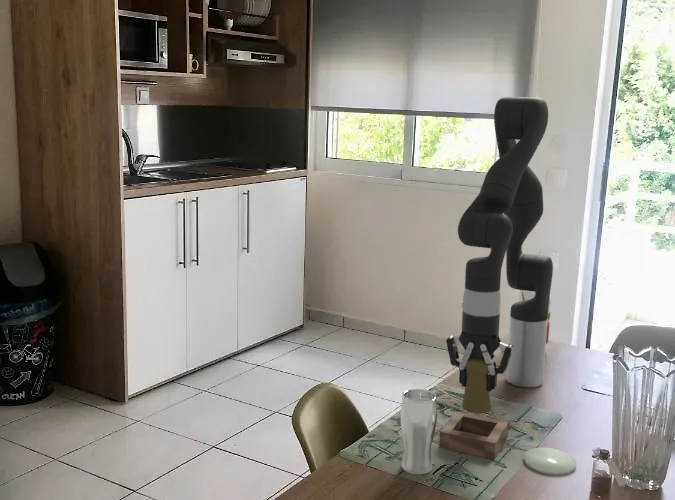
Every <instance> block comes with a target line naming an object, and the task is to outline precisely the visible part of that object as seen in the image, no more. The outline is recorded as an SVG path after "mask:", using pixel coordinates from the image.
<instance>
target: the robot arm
mask: <svg viewBox="0 0 675 500" xmlns="http://www.w3.org/2000/svg"><path fill="white" fill-rule="evenodd" d="M548 107H549V106H548V104H547V101H545V99H543V98H541V97H535V96H533V97H532V96H531V97H530V96H529V97H528V96H527V97H526V96H525V97H524V96H523V97H522V96H518V97H517V96H508V97H507V96H505V97H501V98H499V99H498V100H497V102H496V104H495V106H494V114H493V124H494V132H495V139H496V144H497V150H498V151H497V152H498V157H499V158H498V159H497V160H496V161H494V163H493V164H492V165H491V166H490V168H489V169H488V171H486V174H485V177H484V180H483V183H482V184H481V188H480V191H479V193H478V195H477V196H476V198H474V200H473V201H472V202H471V203H470V205H469V206H468V207H467V209H466V210H465V211H464V213H463V214H462V215H461V217H460V220H459V221H458V226H457V236H458V239H459V241H460V242H461V243H462V244H463V245H464V246H469V247H474V248H483V249H484V248H485V249H490V252H489V254H488V256H487V255H486V256H483V257H480V256H479V257H474V258H470V259H468V260H467V262H466V264H465V277H464V291H463V297H462V303H461V309H462V313H461V315H462V316H461V333H460V335H454V334H451V335H450V336H449V337H447V339H446V346H447V350H448V351H447V352H448V357H449V360H450V362H449V363H450V365H451V366H453V367H456V368H458V369H459V375H458V376H459V381H458V382H459V384H461V387H462V388H465V387H466V382H467V377H468V371H467V369H466V364H467V361H468V360H469V358H470V357H479V358H481V359H484V360H485V363H486V365H487V366H488V370H489V374H488V391H490V393H491V392H492V391H493V390H495V389H496V387H497V386H498V385H497V383H498V375H499V374H500V375H502V374H504V373H505V371H506V379H505V380H506V382H508V384H511V385H514V386H517V387H523V388H536V387H537V388H538V387H540V386H542V385H543V384H544V374H545V373H544V372H545V361H546V353H545V349H546V336H547V321H548V309H549V299H550V289H551V290H552V280H553V275H554V274H553V272H554V263H553V261H552V258H551V257H550V256H546V255H539V254H531V253H523V249H522V248H523V244H524V243H525V240H526V239H527V237H528V236H529V235H530V233H532V231H533V230H534V228H535V227H536V226H537V224H538V223H539V222H540V220H541V218H542V216H543V213H544V194H543V186H542V183H541V181H540V179H539V178H538V176H537V175H536V173H535V172H534V170H533V169H532V168H531V167H530V166H529V164H530V162H531V160H532V158H533V157H534V154H535V153H536V151H537V150H538V147H539V145H540V144H541V141H542V139H543V138H544V135H545V133H546V130H547V127H548V122H549V108H548ZM516 140H519V141H516ZM505 256H506V259H505ZM504 260H505V261H506V264H505V266H506V267H505V269H506V270H505V271H506V273H505V275H506V281H507V285H508V286H509V287H510V288H511V289H514V290H519V291H520V290H524V291H532V292H535V297H534V298H532V299H529V300H526V301H520V302H519V301H517V302H514V303H513V304H512V305H511V307H510V313H509V330H508V331H509V332H508V334H509V335H508V344H507V343H504V342H502V341H501V338H500V319H501V318H500V317H501V303H502V302H501V278H502V269H503V263H504ZM459 343H460V344H461V346H462V347H463V350H464V352H463V353H464V354H463V356H462V357H461V358H460V354H459V350H458V346H459V345H460V344H459ZM498 348H499V350H500V354H501V355H502V358H501V360H500V363H499V365H498V364H497V359H496V355H495V352H496V350H498Z"/></svg>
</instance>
